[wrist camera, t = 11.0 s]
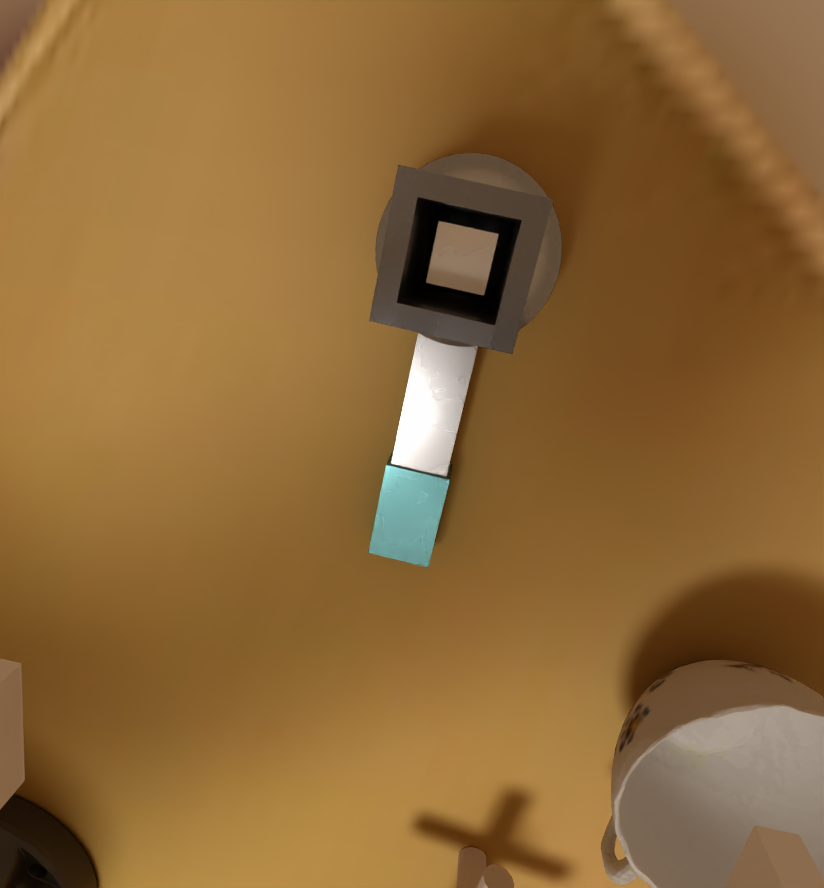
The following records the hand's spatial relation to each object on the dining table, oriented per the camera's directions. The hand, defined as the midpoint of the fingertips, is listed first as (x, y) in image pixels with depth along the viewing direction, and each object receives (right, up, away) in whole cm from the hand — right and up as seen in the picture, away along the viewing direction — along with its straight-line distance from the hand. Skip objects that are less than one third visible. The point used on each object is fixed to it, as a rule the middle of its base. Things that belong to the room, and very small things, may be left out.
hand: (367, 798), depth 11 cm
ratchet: (+2, +10, +20) cm, 23 cm away
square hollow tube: (+3, +14, +16) cm, 22 cm away
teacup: (+17, -9, +25) cm, 31 cm away
